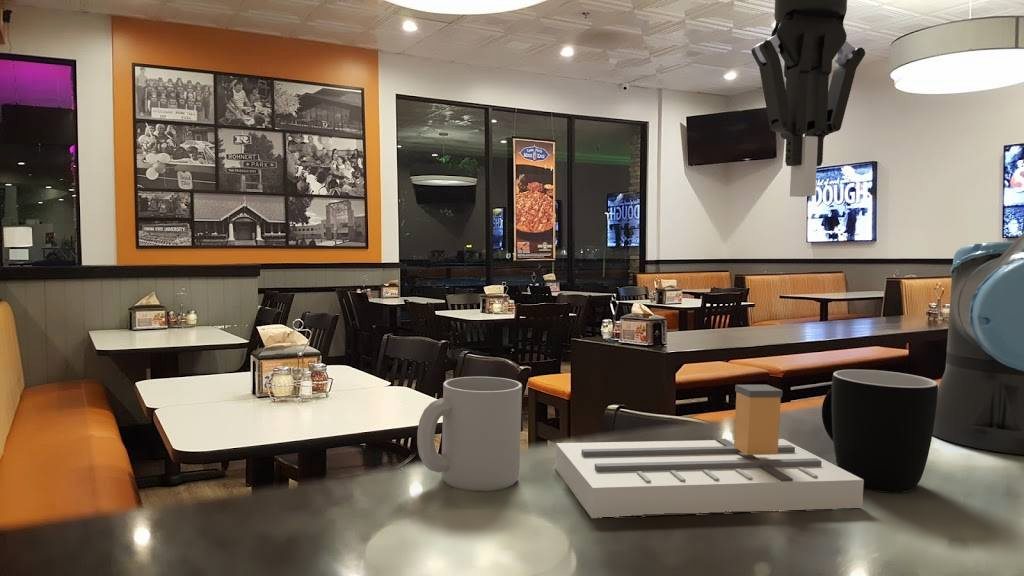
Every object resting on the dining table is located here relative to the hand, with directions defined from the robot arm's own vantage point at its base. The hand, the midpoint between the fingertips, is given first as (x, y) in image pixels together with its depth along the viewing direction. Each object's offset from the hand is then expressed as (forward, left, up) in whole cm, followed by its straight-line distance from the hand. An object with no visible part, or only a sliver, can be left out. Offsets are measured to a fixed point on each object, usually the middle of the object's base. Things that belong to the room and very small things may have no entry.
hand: (802, 195), depth 83 cm
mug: (0, +13, -28) cm, 31 cm away
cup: (+39, +11, -28) cm, 49 cm away
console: (+18, +15, -28) cm, 37 cm away
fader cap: (+12, +15, -25) cm, 32 cm away
